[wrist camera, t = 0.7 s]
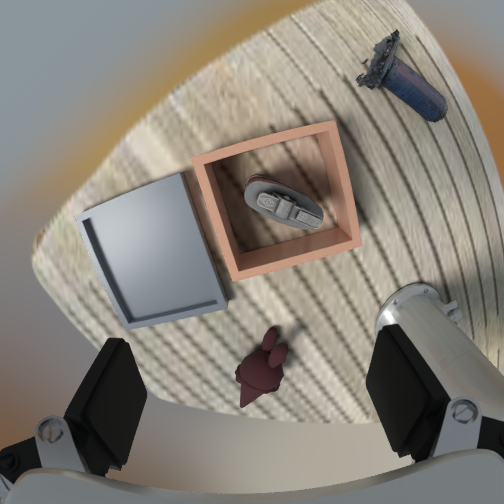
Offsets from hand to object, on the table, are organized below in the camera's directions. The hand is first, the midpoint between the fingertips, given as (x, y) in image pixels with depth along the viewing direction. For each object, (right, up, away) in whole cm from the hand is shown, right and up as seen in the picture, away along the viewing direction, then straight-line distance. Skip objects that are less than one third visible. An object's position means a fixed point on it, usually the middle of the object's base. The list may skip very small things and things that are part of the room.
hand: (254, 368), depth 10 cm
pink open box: (+3, +11, +24) cm, 27 cm away
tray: (-13, +4, +27) cm, 30 cm away
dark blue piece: (+19, +26, +20) cm, 38 cm away
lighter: (+3, +11, +24) cm, 27 cm away
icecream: (+1, -13, +33) cm, 35 cm away
